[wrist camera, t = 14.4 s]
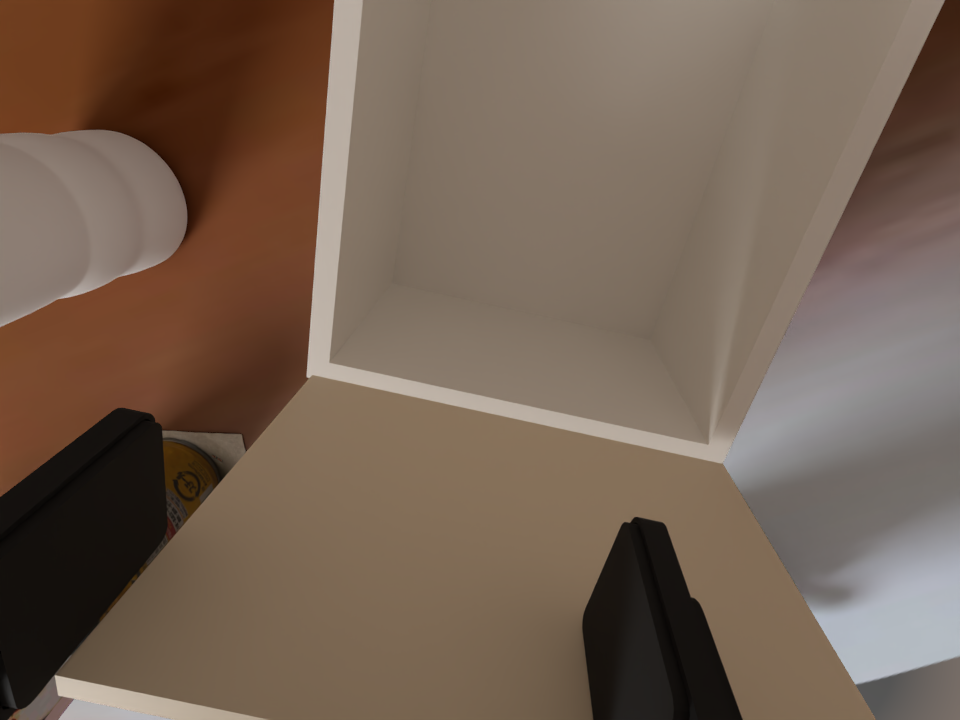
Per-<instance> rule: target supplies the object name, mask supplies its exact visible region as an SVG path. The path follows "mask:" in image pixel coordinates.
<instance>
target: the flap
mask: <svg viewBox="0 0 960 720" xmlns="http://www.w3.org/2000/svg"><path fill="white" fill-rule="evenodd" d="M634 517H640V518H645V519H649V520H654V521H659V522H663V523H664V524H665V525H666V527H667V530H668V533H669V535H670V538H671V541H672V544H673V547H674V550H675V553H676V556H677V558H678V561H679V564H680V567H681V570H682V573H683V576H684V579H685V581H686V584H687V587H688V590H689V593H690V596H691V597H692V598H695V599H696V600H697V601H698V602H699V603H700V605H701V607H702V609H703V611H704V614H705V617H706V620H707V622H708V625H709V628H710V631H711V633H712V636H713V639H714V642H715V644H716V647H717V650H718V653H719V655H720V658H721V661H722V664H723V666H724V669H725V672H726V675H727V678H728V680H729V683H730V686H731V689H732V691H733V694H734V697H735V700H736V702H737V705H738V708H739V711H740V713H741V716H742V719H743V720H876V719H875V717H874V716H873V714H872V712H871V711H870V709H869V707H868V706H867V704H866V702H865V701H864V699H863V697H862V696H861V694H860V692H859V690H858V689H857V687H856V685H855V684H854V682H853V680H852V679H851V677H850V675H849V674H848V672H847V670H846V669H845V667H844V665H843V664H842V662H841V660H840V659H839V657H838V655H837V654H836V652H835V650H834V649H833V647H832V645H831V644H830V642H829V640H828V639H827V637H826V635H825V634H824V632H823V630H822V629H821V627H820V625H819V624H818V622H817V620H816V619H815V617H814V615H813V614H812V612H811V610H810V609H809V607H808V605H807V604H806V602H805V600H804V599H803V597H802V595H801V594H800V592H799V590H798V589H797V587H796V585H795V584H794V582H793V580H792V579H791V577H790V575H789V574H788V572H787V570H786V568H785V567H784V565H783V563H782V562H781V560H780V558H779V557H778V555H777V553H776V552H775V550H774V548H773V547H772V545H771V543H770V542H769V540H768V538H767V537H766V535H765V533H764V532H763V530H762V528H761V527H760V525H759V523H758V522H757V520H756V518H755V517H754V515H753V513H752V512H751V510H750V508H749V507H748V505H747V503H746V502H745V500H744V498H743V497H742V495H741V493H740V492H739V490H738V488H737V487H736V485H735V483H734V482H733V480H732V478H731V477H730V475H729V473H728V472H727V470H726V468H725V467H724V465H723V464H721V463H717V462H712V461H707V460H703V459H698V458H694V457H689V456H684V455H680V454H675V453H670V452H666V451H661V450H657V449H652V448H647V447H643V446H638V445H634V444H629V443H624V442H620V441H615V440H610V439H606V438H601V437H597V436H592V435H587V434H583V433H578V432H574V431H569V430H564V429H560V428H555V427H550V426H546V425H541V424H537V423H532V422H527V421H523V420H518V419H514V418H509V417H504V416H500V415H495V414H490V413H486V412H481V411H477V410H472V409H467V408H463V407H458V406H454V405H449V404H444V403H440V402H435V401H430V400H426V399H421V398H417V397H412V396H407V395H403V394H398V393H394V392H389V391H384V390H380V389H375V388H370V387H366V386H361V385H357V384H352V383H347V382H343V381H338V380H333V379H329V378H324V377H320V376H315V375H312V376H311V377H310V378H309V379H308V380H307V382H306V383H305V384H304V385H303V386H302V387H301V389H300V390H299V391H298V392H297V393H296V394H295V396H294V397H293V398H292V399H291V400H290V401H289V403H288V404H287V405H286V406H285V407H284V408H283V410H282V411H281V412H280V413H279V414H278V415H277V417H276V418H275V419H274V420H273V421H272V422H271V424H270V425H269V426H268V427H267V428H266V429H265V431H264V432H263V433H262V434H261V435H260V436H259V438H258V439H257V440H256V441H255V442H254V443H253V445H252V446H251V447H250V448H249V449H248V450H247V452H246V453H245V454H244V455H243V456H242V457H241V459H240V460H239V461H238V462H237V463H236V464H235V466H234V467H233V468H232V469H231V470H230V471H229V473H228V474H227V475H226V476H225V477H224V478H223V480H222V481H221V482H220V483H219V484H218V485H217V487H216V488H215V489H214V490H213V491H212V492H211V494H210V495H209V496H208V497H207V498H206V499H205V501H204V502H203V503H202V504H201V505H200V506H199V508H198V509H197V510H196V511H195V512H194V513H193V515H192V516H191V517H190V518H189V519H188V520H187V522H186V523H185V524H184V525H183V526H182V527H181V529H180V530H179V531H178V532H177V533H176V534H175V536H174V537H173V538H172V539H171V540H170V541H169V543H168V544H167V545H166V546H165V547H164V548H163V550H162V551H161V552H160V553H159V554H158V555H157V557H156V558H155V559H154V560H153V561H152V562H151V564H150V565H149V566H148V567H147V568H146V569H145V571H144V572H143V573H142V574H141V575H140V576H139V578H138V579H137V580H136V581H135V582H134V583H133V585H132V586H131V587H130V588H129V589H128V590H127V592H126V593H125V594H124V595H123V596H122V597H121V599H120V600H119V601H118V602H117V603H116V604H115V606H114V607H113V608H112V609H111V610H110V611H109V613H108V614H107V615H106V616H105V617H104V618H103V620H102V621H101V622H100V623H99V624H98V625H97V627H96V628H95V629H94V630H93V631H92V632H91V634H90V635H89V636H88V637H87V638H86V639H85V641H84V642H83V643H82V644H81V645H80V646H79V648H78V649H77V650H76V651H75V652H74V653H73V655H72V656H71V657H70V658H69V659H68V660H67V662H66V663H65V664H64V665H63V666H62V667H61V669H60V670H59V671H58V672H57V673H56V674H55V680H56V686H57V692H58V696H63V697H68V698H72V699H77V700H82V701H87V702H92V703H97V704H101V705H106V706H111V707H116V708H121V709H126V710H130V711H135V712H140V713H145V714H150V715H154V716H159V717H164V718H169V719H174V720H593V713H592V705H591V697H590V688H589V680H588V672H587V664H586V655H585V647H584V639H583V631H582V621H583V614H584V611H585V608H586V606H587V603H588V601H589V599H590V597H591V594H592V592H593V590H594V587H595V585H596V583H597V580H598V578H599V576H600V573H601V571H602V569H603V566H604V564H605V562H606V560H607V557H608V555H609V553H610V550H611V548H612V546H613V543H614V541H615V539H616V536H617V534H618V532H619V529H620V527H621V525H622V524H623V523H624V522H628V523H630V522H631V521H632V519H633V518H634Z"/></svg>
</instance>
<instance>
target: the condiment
mask: <svg viewBox="0 0 960 720" xmlns="http://www.w3.org/2000/svg"><path fill="white" fill-rule="evenodd" d="M162 435H163V452H164V469H165V486H166V503H167V520H168V527H167V531H166V534H165V537H164V539H163V541H162V542H161V544H160V545H159V546H158V547H157V549H156V550H155V551H154V552H153V554H152V555H151V556H150V557H149V559H148V560H147V561H146V562H145V564H144V565H143V566H142V567H141V568H140V570H139V571H138V572H137V573H136V575H135V576H134V577H133V578H132V580H131V581H130V582H129V583H128V585H127V586H126V587H125V588H124V590H123V591H122V592H121V593H120V594H119V596H118V597H117V598H116V599H115V601H114V602H113V603H112V604H111V606H110V607H109V608H108V609H107V611H106V612H105V613H104V614H103V616H102V617H101V618H100V619H99V620H98V622H97V623H96V624H95V625H94V627H93V628H92V629H91V630H90V632H89V633H88V634H87V635H86V637H85V638H84V639H83V640H82V642H81V643H80V644H79V645H78V646H77V648H76V649H75V650H74V651H73V653H74V652H75V651H76V650H77V649H78V648H79V646H80V645H81V644H82V643H83V642H84V641H85V639H86V638H87V637H88V636H89V635H90V634H91V632H92V631H93V630H94V629H95V628H96V627H97V625H98V624H99V623H100V622H101V621H102V620H103V618H104V617H105V616H106V615H107V614H108V613H109V611H110V610H111V609H112V608H113V607H114V606H115V604H116V603H117V602H118V601H119V600H120V599H121V597H122V596H123V595H124V594H125V593H126V592H127V590H128V589H129V588H130V587H131V586H132V585H133V583H134V582H135V581H136V580H137V579H138V578H139V576H140V575H141V574H142V573H143V572H144V571H145V569H146V568H147V567H148V566H149V565H150V564H151V562H152V561H153V560H154V559H155V558H156V557H157V555H158V554H159V553H160V552H161V551H162V550H163V548H164V547H165V546H166V545H167V544H168V543H169V541H170V540H171V539H172V538H173V537H174V536H175V534H176V533H177V532H178V531H179V530H180V529H181V527H182V526H183V525H184V524H185V523H186V522H187V520H188V519H189V518H190V517H191V516H192V515H193V513H194V512H195V511H196V510H197V509H198V508H199V506H200V505H201V504H202V503H203V502H204V501H205V499H206V498H207V497H208V496H209V495H210V494H211V492H212V491H213V490H214V489H215V488H216V487H217V485H218V484H219V483H220V482H221V481H222V480H223V478H224V477H225V476H226V475H227V474H228V473H229V471H230V470H231V469H232V468H233V467H234V466H235V464H236V463H237V462H238V461H239V460H240V459H241V457H242V456H243V455H244V454H245V453H246V450H245V448H244V443H243V439H242V434H223V433H213V434H212V433H194V432H181V431H162ZM212 455H214V456H216V458H214V457H212ZM217 458H219V459H221V460H222V462H221V461H219V460H218V459H217ZM73 653H72V654H71V655H73Z"/></svg>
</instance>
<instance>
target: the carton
mask: <svg viewBox="0 0 960 720" xmlns="http://www.w3.org/2000/svg"><path fill="white" fill-rule="evenodd" d="M944 1H945V0H334V14H333V27H332V41H331V54H330V67H329V81H328V94H327V108H326V121H325V135H324V148H323V162H322V175H321V189H320V202H319V215H318V229H317V242H316V256H315V269H314V283H313V296H312V310H311V323H310V337H309V350H308V363H307V377H308V378H310V377H311V376H312V375H315V376H320V377H324V378H329V379H333V380H338V381H343V382H347V383H352V384H357V385H361V386H366V387H370V388H375V389H380V390H384V391H389V392H394V393H398V394H403V395H407V396H412V397H417V398H421V399H426V400H430V401H435V402H440V403H444V404H449V405H454V406H458V407H463V408H467V409H472V410H477V411H481V412H486V413H490V414H495V415H500V416H504V417H509V418H514V419H518V420H523V421H527V422H532V423H537V424H541V425H546V426H550V427H555V428H560V429H564V430H569V431H574V432H578V433H583V434H587V435H592V436H597V437H601V438H606V439H610V440H615V441H620V442H624V443H629V444H634V445H638V446H643V447H647V448H652V449H657V450H661V451H666V452H670V453H675V454H680V455H684V456H689V457H694V458H698V459H703V460H707V461H712V462H717V463H721V464H723V462H724V460H725V458H726V456H727V454H728V451H729V449H730V447H731V445H732V443H733V441H734V439H735V437H736V435H737V433H738V431H739V429H740V426H741V424H742V422H743V420H744V418H745V416H746V414H747V412H748V410H749V408H750V406H751V404H752V401H753V399H754V397H755V395H756V393H757V391H758V389H759V387H760V385H761V383H762V381H763V378H764V376H765V374H766V372H767V370H768V368H769V366H770V364H771V362H772V360H773V358H774V356H775V353H776V351H777V349H778V347H779V345H780V343H781V341H782V339H783V337H784V335H785V333H786V331H787V328H788V326H789V324H790V322H791V320H792V318H793V316H794V314H795V312H796V310H797V308H798V305H799V303H800V301H801V299H802V297H803V295H804V293H805V291H806V289H807V287H808V285H809V283H810V280H811V278H812V276H813V274H814V272H815V270H816V268H817V266H818V264H819V262H820V260H821V258H822V255H823V253H824V251H825V249H826V247H827V245H828V243H829V241H830V239H831V237H832V235H833V233H834V230H835V228H836V226H837V224H838V222H839V220H840V218H841V216H842V214H843V212H844V210H845V207H846V205H847V203H848V201H849V199H850V197H851V195H852V193H853V191H854V189H855V187H856V185H857V182H858V180H859V178H860V176H861V174H862V172H863V170H864V168H865V166H866V164H867V162H868V160H869V157H870V155H871V153H872V151H873V149H874V147H875V145H876V143H877V141H878V139H879V137H880V135H881V132H882V130H883V128H884V126H885V124H886V122H887V120H888V118H889V116H890V114H891V112H892V109H893V107H894V105H895V103H896V101H897V99H898V97H899V95H900V93H901V91H902V89H903V87H904V84H905V82H906V80H907V78H908V76H909V74H910V72H911V70H912V68H913V66H914V64H915V62H916V59H917V57H918V55H919V53H920V51H921V49H922V47H923V45H924V43H925V41H926V39H927V37H928V34H929V32H930V30H931V28H932V26H933V24H934V22H935V20H936V18H937V16H938V14H939V11H940V9H941V7H942V5H943V3H944Z"/></svg>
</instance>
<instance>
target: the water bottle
mask: <svg viewBox="0 0 960 720" xmlns="http://www.w3.org/2000/svg"><path fill="white" fill-rule="evenodd" d="M186 227H187V207H186V202H185V198H184V194H183V192H182V189H181V187H180V184H179V182H178V180H177V178H176V177H175V175H174V173H173V172H172V170H171V169H170V168H169V166H168V165H167V164H166V163H165V161H164V160H163V159H162V158H161V157H160V156H159V155H158V154H157V153H156V152H154V151H153V150H152V149H151V148H149V147H148V146H147V145H145V144H144V143H142V142H140V141H139V140H137V139H135V138H133V137H131V136H128V135H125V134H122V133H119V132H114V131H109V130H80V131H70V132H63V133H58V134H53V135H48V134H40V133H8V134H0V327H1V326H3V325H5V324H8V323H10V322H12V321H15V320H17V319H19V318H21V317H23V316H26V315H28V314H30V313H32V312H34V311H36V310H38V309H40V308H42V307H44V306H46V305H48V304H50V303H52V302H53V301H55V300H57V299H61V298H67V297H72V296H76V295H79V294H83V293H86V292H88V291H91V290H94V289H96V288H99V287H101V286H103V285H105V284H107V283H109V282H111V281H112V280H114V279H116V278H117V277H120V276H124V275H129V274H132V273H136V272H139V271H142V270H145V269H147V268H150V267H152V266H155V265H157V264H159V263H161V262H163V261H165V260H166V259H167V258H169V257H170V256H171V255H172V254H173V253H174V252H175V251H176V250H177V249H178V247H179V246H180V244H181V242H182V240H183V238H184V235H185V232H186Z"/></svg>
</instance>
